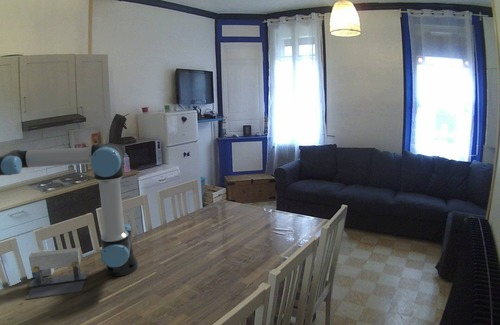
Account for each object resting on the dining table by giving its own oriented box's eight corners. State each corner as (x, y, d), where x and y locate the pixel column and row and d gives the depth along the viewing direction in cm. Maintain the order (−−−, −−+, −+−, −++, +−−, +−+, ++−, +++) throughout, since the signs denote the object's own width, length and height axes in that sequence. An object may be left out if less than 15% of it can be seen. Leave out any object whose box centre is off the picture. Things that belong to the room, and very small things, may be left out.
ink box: (32, 278, 163) (28, 255, 160) (35, 273, 167) (31, 251, 165) (51, 275, 165) (48, 253, 162) (54, 270, 170) (51, 248, 167)
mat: (84, 281, 159) (84, 280, 159) (81, 291, 152) (81, 290, 152) (32, 289, 154) (32, 288, 154) (25, 299, 146) (25, 298, 146)
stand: (87, 274, 166) (85, 256, 164) (85, 280, 160) (82, 262, 158) (32, 281, 160) (29, 263, 158) (27, 289, 154) (24, 270, 152)
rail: (80, 260, 163) (79, 247, 161) (79, 264, 159) (77, 251, 157) (34, 266, 158) (31, 253, 156) (31, 271, 154) (28, 257, 152)
